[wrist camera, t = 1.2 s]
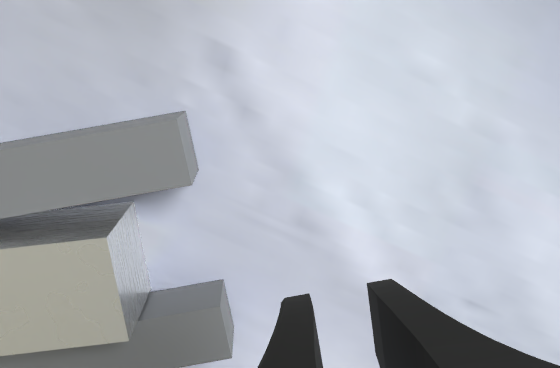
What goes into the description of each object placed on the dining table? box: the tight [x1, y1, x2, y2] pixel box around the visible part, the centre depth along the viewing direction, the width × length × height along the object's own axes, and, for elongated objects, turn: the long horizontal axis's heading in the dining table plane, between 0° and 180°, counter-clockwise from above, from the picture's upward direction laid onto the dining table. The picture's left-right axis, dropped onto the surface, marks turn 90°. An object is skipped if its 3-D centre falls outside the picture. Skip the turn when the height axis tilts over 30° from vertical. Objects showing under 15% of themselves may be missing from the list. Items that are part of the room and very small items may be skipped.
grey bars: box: [0, 111, 234, 368], centre depth 18 cm, size 10×16×2 cm, turn 99°
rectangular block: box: [0, 201, 151, 356], centre depth 18 cm, size 4×10×4 cm, turn 95°
